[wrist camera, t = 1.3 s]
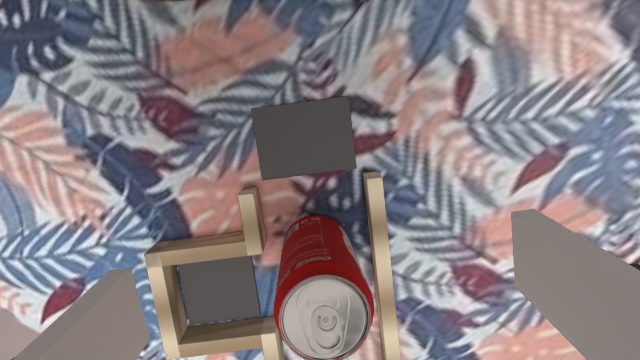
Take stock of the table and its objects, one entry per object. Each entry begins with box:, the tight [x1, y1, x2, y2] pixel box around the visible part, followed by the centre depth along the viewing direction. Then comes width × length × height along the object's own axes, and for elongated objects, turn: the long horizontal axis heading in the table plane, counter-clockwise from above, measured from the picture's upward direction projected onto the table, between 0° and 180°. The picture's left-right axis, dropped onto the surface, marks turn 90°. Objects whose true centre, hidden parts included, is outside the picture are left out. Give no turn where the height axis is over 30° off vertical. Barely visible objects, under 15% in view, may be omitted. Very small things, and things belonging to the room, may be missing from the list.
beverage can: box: [274, 215, 374, 360], centre depth 31 cm, size 6×6×15 cm
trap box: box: [144, 171, 401, 360], centre depth 37 cm, size 21×20×4 cm
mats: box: [178, 96, 356, 325], centre depth 38 cm, size 18×16×1 cm
